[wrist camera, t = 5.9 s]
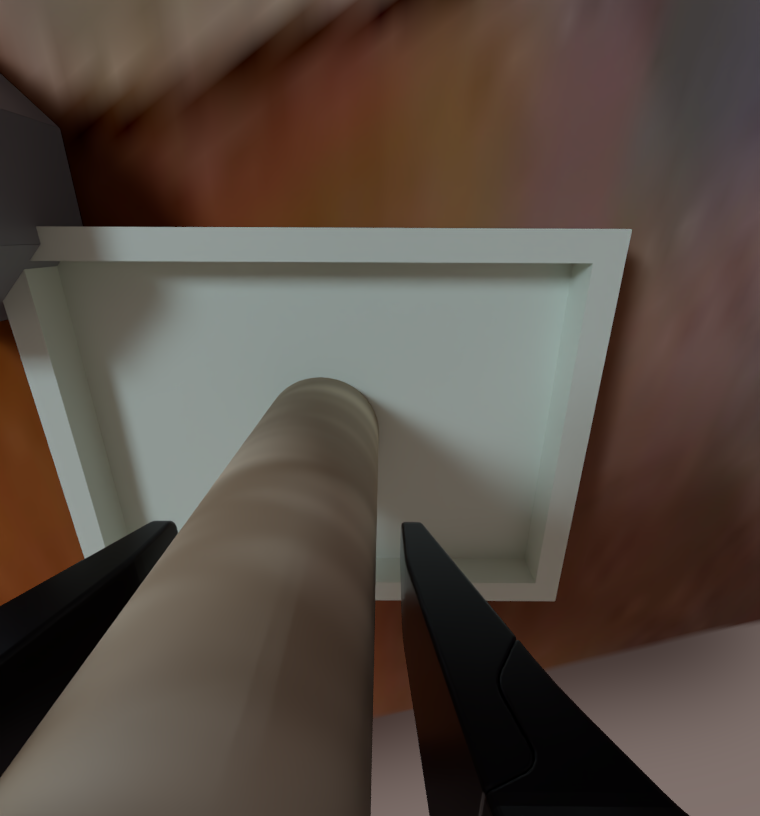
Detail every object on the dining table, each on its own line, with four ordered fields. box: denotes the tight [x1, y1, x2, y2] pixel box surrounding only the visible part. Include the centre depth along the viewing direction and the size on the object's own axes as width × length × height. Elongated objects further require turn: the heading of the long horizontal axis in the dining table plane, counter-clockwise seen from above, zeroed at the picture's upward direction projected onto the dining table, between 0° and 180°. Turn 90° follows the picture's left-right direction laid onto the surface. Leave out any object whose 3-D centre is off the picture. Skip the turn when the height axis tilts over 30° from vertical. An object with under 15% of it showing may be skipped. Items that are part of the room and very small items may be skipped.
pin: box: [0, 377, 379, 816], centre depth 9 cm, size 4×4×11 cm
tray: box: [3, 226, 632, 601], centre depth 14 cm, size 16×12×2 cm
